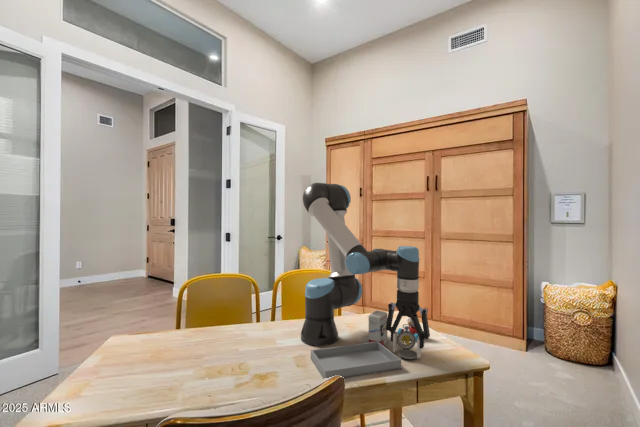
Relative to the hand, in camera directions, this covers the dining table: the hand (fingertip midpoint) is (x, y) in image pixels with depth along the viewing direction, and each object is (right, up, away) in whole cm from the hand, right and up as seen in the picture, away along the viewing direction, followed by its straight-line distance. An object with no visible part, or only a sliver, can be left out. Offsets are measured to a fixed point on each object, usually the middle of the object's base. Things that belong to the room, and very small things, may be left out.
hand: (406, 353), depth 115 cm
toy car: (+7, -1, +18) cm, 19 cm away
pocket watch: (0, -1, 0) cm, 1 cm away
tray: (-19, -1, -7) cm, 20 cm away
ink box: (-8, -1, +10) cm, 13 cm away
